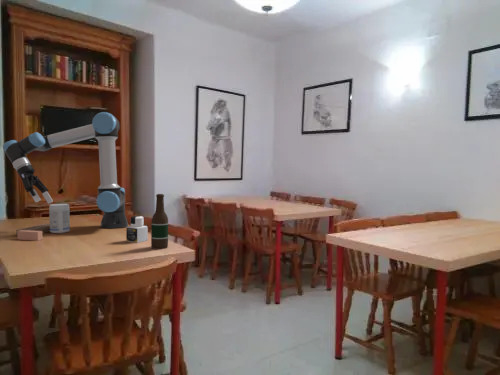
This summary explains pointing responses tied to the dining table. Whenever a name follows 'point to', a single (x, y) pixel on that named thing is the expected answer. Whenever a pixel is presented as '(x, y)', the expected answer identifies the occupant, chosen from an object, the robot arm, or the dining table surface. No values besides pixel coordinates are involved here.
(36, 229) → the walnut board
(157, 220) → the beer bottle
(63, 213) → the supplement tub
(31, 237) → the block
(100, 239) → the dining table surface
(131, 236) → the medicine bottle
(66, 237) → the dining table surface
